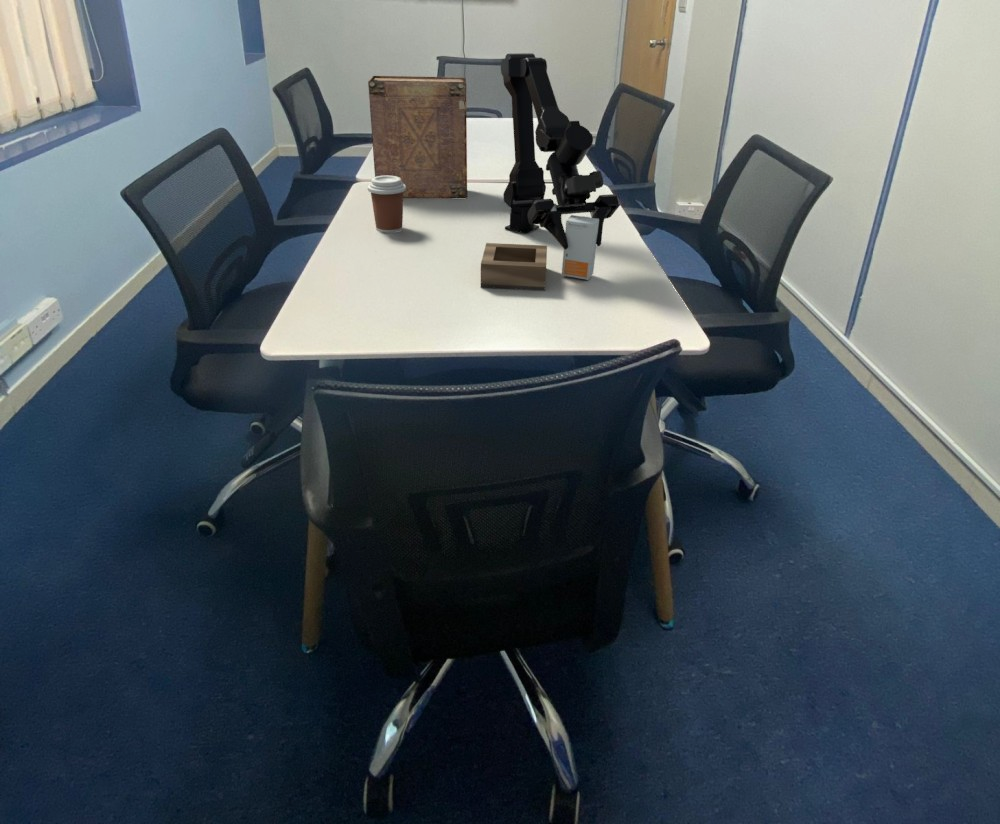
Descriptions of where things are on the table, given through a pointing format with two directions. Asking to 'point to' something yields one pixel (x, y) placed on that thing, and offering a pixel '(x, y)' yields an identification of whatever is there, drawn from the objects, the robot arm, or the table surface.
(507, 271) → the socket block
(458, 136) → the book
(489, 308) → the table surface
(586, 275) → the skincare box
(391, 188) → the coffee cup
